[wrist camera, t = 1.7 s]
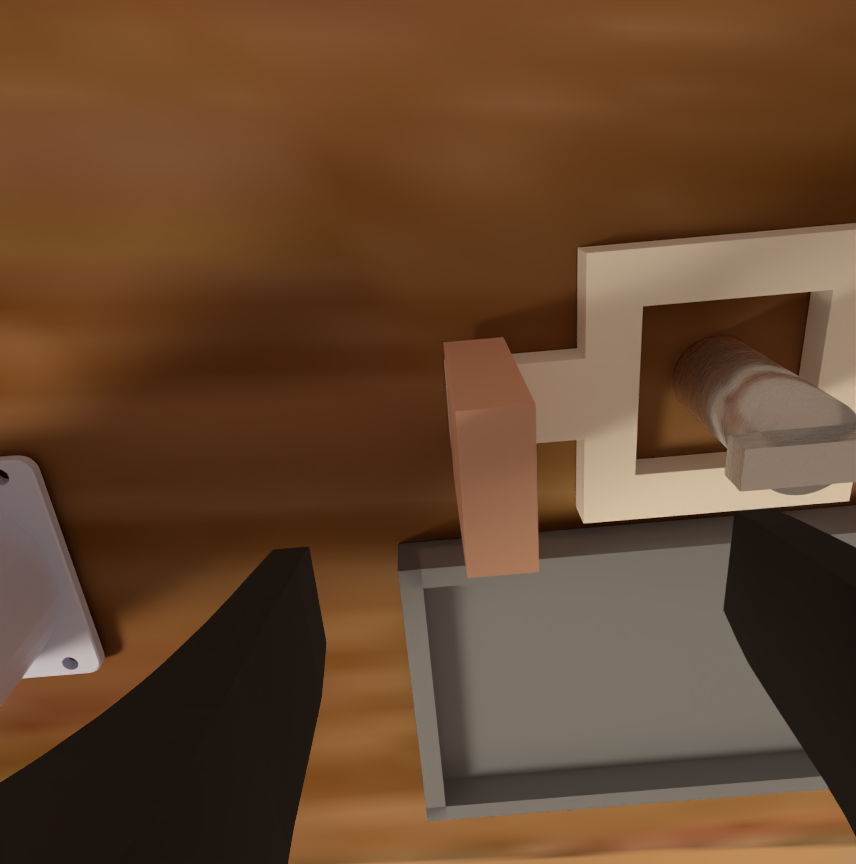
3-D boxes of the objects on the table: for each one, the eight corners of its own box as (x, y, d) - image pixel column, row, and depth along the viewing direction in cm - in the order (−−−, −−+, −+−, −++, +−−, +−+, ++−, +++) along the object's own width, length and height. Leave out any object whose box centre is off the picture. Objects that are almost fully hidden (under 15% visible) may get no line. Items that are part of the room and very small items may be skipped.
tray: (426, 785, 26) (428, 821, 25) (398, 543, 22) (398, 571, 20) (832, 752, 26) (855, 786, 24) (885, 502, 21) (918, 527, 20)
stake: (650, 419, 20) (737, 519, 15) (654, 341, 19) (748, 418, 14) (770, 408, 20) (902, 505, 15) (781, 330, 19) (925, 404, 14)
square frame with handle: (455, 517, 21) (472, 648, 16) (436, 260, 18) (448, 311, 13) (830, 485, 21) (978, 607, 16) (876, 221, 18) (1083, 256, 12)
